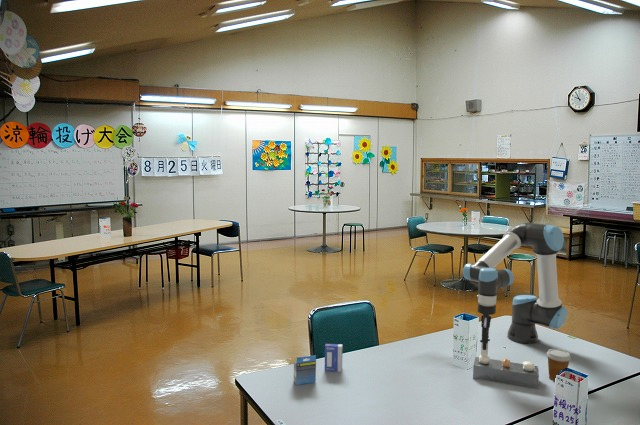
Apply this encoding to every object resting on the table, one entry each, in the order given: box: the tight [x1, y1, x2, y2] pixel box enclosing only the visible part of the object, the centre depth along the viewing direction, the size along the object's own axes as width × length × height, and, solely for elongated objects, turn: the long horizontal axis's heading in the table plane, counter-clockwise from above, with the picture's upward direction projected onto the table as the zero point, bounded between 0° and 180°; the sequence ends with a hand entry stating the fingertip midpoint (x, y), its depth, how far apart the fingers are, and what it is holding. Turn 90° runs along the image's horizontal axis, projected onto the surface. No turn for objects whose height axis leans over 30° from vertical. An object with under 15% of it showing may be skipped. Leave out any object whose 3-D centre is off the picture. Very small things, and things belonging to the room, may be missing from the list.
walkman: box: [324, 343, 344, 373], centre depth 222 cm, size 8×3×12 cm, turn 85°
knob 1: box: [478, 354, 491, 364], centre depth 218 cm, size 4×4×8 cm
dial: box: [501, 358, 511, 367], centre depth 214 cm, size 3×3×3 cm
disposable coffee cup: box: [546, 348, 572, 382], centre depth 215 cm, size 10×10×12 cm
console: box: [472, 356, 540, 391], centre depth 215 cm, size 10×26×6 cm, turn 68°
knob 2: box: [522, 360, 535, 371], centre depth 211 cm, size 4×4×8 cm
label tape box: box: [293, 354, 317, 386], centre depth 210 cm, size 9×4×12 cm, turn 109°
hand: (484, 355), depth 217 cm, fingers closed
